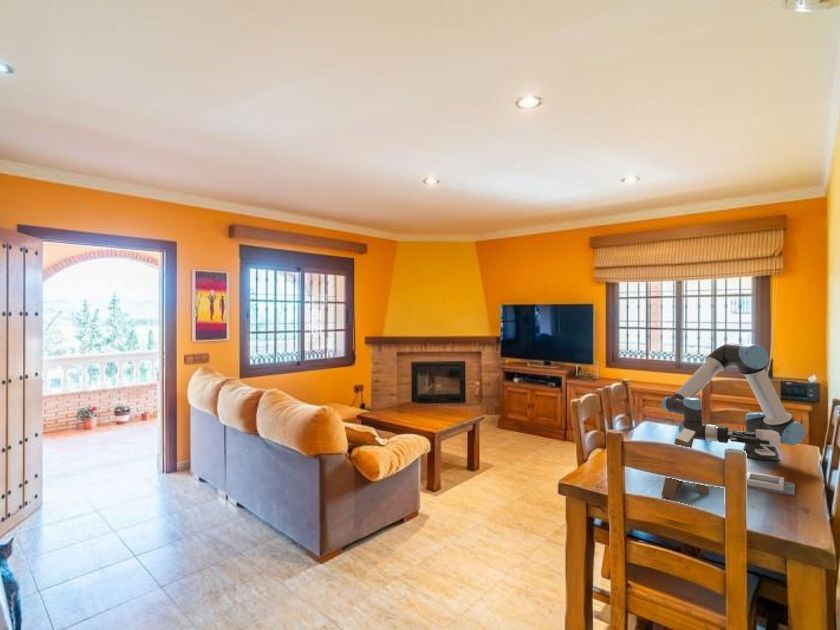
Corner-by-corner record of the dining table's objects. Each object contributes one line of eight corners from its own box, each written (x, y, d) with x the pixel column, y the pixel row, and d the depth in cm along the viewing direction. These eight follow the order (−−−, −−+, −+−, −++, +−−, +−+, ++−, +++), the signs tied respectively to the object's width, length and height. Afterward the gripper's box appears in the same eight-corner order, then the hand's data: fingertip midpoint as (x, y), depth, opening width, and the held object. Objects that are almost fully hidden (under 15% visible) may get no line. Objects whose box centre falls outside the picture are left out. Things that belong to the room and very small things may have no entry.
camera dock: (737, 476, 200) (737, 469, 200) (794, 485, 187) (794, 478, 187) (734, 485, 189) (733, 478, 189) (794, 496, 176) (794, 488, 176)
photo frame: (661, 497, 178) (659, 436, 178) (671, 482, 194) (669, 426, 195) (704, 506, 168) (702, 441, 169) (710, 489, 185) (709, 431, 186)
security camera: (780, 456, 187) (779, 432, 187) (761, 455, 189) (760, 432, 189) (772, 452, 193) (771, 429, 194) (754, 451, 195) (753, 428, 195)
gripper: (721, 437, 211) (781, 445, 196) (714, 446, 195) (779, 455, 180) (720, 422, 211) (781, 428, 196) (713, 429, 196) (778, 437, 180)
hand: (780, 441), depth 188 cm, fingers closed on security camera, 8 cm apart
